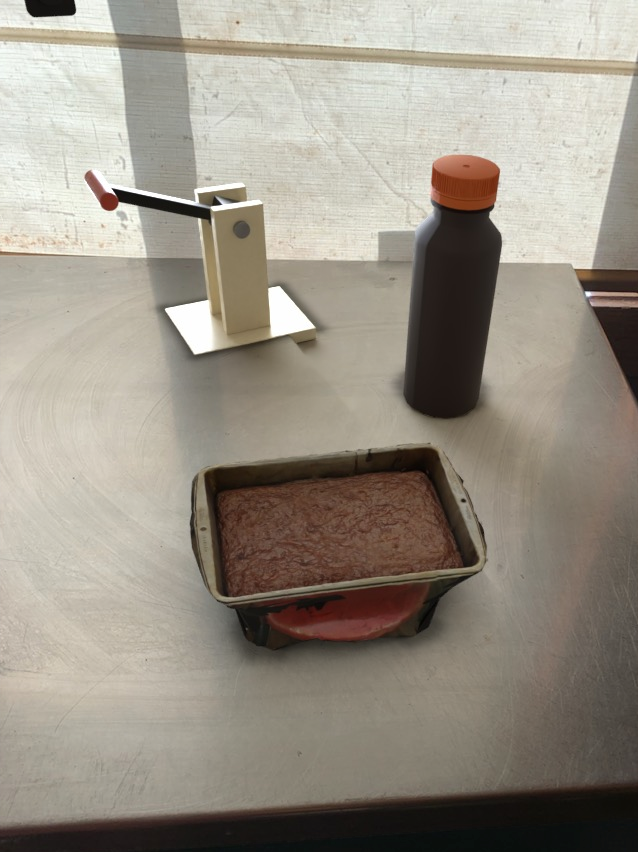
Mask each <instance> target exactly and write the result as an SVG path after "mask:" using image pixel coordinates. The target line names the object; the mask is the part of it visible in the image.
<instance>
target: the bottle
mask: <svg viewBox="0 0 638 852" xmlns="http://www.w3.org/2000/svg"><path fill="white" fill-rule="evenodd" d="M500 176H501V169H500V167H499V166H498V165H497V164H496V163H495V162H493V161H492V160H490V159H487V158H484V157H481V156H476V155H472V154H449V155H443V156H441V157H438V158H437V159H435V160H434V161H433V162H432V166H431V178H430V192H429V196H430V202H429V203H430V204H431V205H432V207H433V208H432V209H433V211H432V212H431V213H429V215H428V216H427V217H425V218H424V219H423V220H422V221H421V222H419V224H418V225H417V226H416V228H415V230H414V240H413V254H412V264H411V265H412V266H411V270H412V271H411V282H410V295H409V310H408V322H407V337H406V338H407V339H406V350H405V363H404V364H405V365H404V366H405V367H404V379H403V390H402V392H403V393H402V394H403V397H404V400H405V402H406V404H408V406H410V407H411V408H412V410H414V411H416V412H418V413H420V414H421V415H424V416H428V417H431V418H437V419H452V418H453V419H454V418H458V417H461V416H464V415H467V414H468V413H470V412H471V411H472V410H474V409H475V407H476V405H477V404H478V402H479V398H480V392H481V386H482V379H483V374H484V373H483V372H484V364H485V360H486V353H487V347H488V342H489V341H488V340H489V334H490V328H491V327H490V326H491V320H492V314H493V306H494V301H495V295H496V289H497V281H498V274H499V268H500V263H501V262H500V261H501V254H502V248H503V236H502V233H501V231H500V230H499V229H498V228H497V226H496V225H495V224H494V222H493V221H492V219H491V218H490V215H491V212H492V211H493V210H494V209H495V205H496V204H495V203H496V202H497V196H498V189H499V183H500V182H499V181H500Z"/></svg>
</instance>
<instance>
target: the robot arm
mask: <svg viewBox="0 0 638 852" xmlns="http://www.w3.org/2000/svg"><path fill="white" fill-rule="evenodd" d="M23 1H24V5H25V9H26V12H27V14H29V16H31V17H32V18H53V17H55V18H57V17H72V16H75V15H76V13H77V5H76V1H75V0H23Z"/></svg>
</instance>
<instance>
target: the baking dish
mask: <svg viewBox="0 0 638 852" xmlns="http://www.w3.org/2000/svg"><path fill="white" fill-rule="evenodd" d="M464 482H465V480H464V479H463V477H461V475H460V474H458V472H457V471H456V470H455V468H454V465H453V463H452V462H451V461H450V458H449V457H448V455H446V453H445V451H444V450H443V449H442V448H441V447H439V446H438V445H437V444H433V443H432V442H420V443H419V442H418V443H401V444H397V445H392V446H391V445H390V446H382V447H371V448H366V449H365V448H364V449H362V448H361V449H360V448H359V449H355V450H341V451H333V452H325V453H318V454H317V453H316V454H308V455H307V454H306V455H296V456H287V457H277V458H266V459H260V460H247V461H235V462H221V463H215V464H211V465H207V466H205V467H203V468H202V469H200V470H199V471H198V472H197V473H196V474H195V475H194V477H193V479H192V480H191V491H190V505H191V506H190V511H191V513H190V519H189V529H190V531H189V534H190V543H191V550H192V553H193V556H194V558H195V561H196V564H197V567H198V570H199V572H200V575H201V578H202V582H203V584H204V586H205V588H206V589H207V591H208V593H209V594H210V595H211V596H212V597H213V599H214V600H215V601H216V602H217V603H220V604H222V605H225V606H226V608H229V609H231V610H235V612H236V615H237V619H238V622H239V624H240V627H241V630H242V633H243V636H244V637H245V639H246V640H247V641H248V642H250V643H251V644H254V645H255V646H256V647H264V648H266V649H269V650H270V651H275V650H276V649H279V648H283V647H287V646H291V645H295V644H297V643H301V642H306V641H309V640H312V639H319V640H321V641H322V642H344V643H353V644H356V643H359V642H364V641H369V640H376V639H385V638H393V637H401V636H405V637H406V636H407V637H415V636H417V635H419V634H421V633H422V632H424V631H425V630H426V629H428V628H429V627H430V624H431V622H432V620H433V617H434V614H435V612H436V610H437V607H438V605H439V602H440V599H441V598H443V597H444V596H445V595H446V594H447V593H448V592H450V590H451V589H453V588H454V587H456V586H458V585H459V584H461V583H463V582H465V581H466V580H468V579H470V578H472V577H474V576H475V575H478V574H479V573H481V572H482V571H483V570H484V567H485V566H486V563H487V553H488V545H487V541H486V535H485V529H484V527H483V525H482V523H481V522H480V521H479V517H478V514H477V513H476V512H475V509H474V505H473V502H472V499H471V497H470V494H469V492H468V489H466V487H465V485H464Z"/></svg>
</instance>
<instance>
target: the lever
mask: <svg viewBox="0 0 638 852" xmlns="http://www.w3.org/2000/svg"><path fill="white" fill-rule="evenodd" d="M83 179H84V180H83V181H84V183H85V185H86V186H87V187H88V189H89V190H90V192H91V194H92V195H93V197H94V198H95V199H96V201H97V203H98V205H99V206H100V207H101V209H103V210H104V211H106V212H113V211H115V210H117V208H118V207H119V203H122V204H127V205H130V206H131V205H132V206H136V207H140V208H145V209H150V210H155V211H161V212H165V213H171V214H175V215H180V216H185V217H190V218H194V219H198V218H200V219H205V220H209V221H208V223H209V224H210V225H211V226H212V221H211V212H210V207H213V206H220V205H227V204H233V203H240V202H241V201H237V200H232V199H228V198H223V197H219V196H214V199H213V203H212V205H207V204H203V203H198V202H196V201H193V200H188V199H185V198H184V199H183V198H179V197H174V196H169V195H165V194H160V193H156V192H150V191H146V190H141V189H138V188H137V189H136V188H131V187H127V186H123V185H119V184H114V183H109V182H107V180H106V179H105V178H104V176H103V175H102V173H101V172H100V171H98V170H97V169H90V170H87V171H86V172H85V174H84V177H83Z"/></svg>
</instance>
